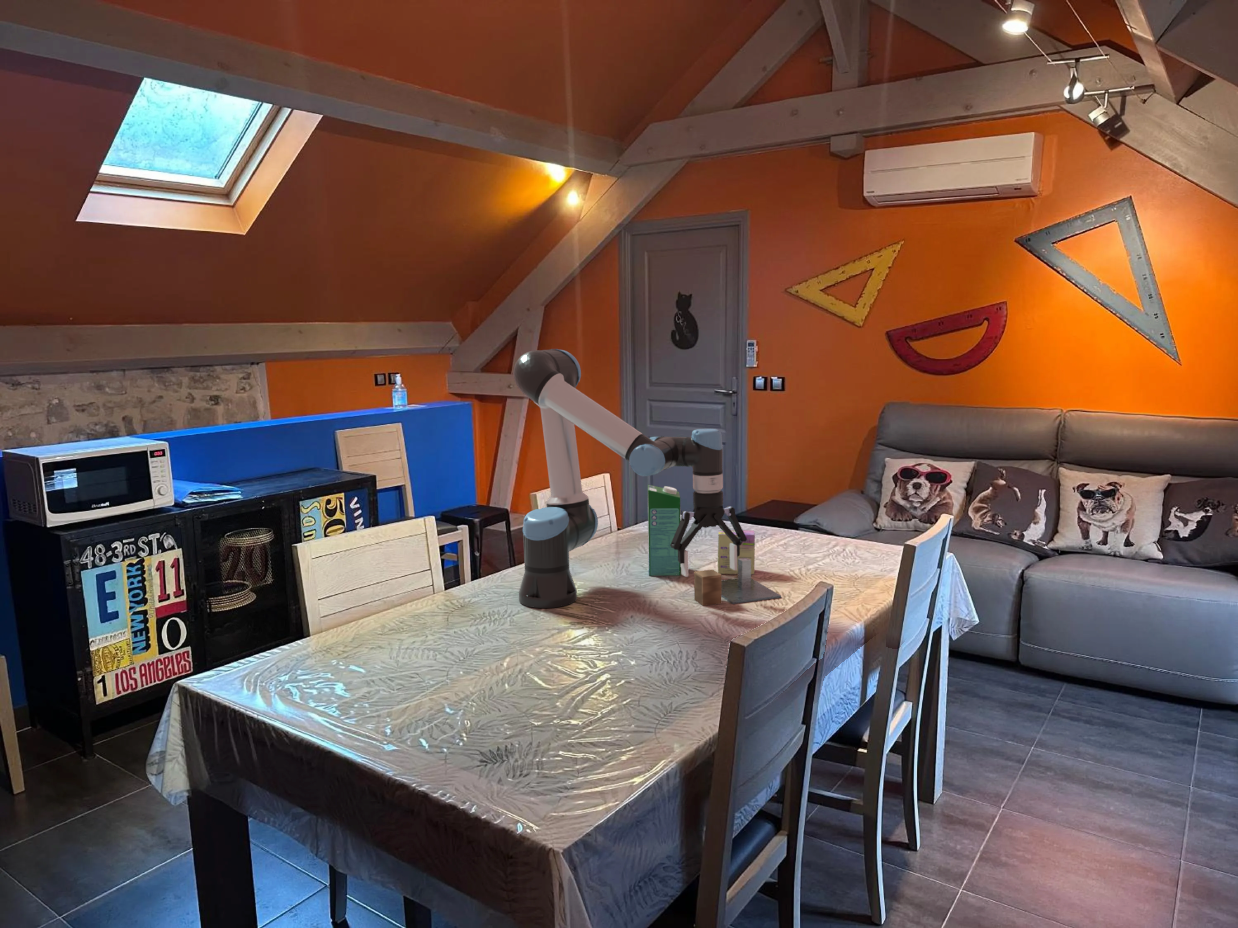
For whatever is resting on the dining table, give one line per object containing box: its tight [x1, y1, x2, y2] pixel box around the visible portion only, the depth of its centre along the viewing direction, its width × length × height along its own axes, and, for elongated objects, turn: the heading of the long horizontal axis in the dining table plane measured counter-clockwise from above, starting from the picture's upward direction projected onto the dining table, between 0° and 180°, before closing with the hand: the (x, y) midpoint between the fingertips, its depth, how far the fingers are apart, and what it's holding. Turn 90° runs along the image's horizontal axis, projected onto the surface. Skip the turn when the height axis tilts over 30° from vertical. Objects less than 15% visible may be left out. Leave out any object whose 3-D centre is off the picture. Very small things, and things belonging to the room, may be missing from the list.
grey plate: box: [721, 558, 782, 605], centre depth 229 cm, size 14×18×8 cm
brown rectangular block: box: [693, 569, 722, 607], centre depth 220 cm, size 5×5×8 cm
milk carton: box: [647, 484, 682, 577], centre depth 247 cm, size 9×9×25 cm
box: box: [717, 529, 756, 576], centre depth 246 cm, size 10×6×12 cm, turn 84°
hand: (709, 572), depth 219 cm, fingers open, 13 cm apart
